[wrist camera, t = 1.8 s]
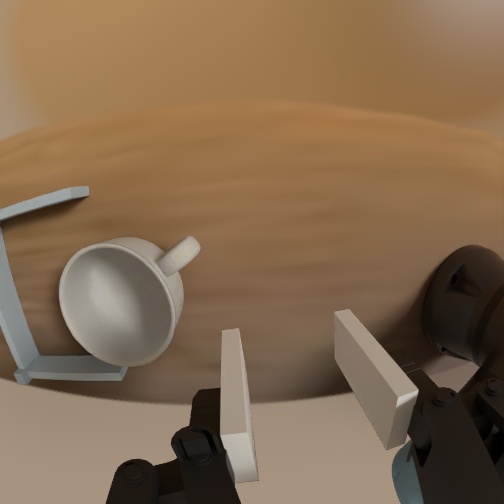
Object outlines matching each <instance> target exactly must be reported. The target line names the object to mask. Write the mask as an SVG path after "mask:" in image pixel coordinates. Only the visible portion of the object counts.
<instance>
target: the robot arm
mask: <svg viewBox="0 0 504 504" xmlns="http://www.w3.org/2000/svg"><path fill="white" fill-rule="evenodd" d="M422 324H423V330H424V334H425V336H426V338H427V340H428V341H429V342H430V343H431V344H432V345H433V346H434V347H435V348H436V349H437V350H438V351H440V352H441V353H443V354H445V355H448V356H452V357H455V358H458V359H462V360H465V361H469V362H473V363H475V364H476V365H477V366H479V367H480V368H479V369H478V371H477V372H476V373H475V374H474V375H473V377H471V379H470V380H469V381H468V382H467V383H466V384H465V386H464V387H463V388H462V389H461V390H460V391H459V392H458V393H456V392H455V391H454V390H452V389H450V388H445V387H442V388H439V387H438V386H437V385H436V384H435V383H434V382H433V381H432V380H431V379H430V378H429V377H428V376H427V374H426V373H425V372H424V371H423V370H422V369H420V367H419V366H418V365H417V364H415V362H414V361H413V360H412V359H411V357H410V356H409V355H407V354H405V353H403V352H401V351H395V352H392V353H387V352H386V351H385V350H384V349H383V347H382V346H381V345H380V344H379V343H378V342H377V340H376V339H375V338H374V337H373V336H372V335H371V334H370V332H369V331H368V330H367V329H366V328H365V327H364V326H363V325H362V323H361V322H360V321H359V320H358V319H357V318H356V317H355V316H354V314H353V313H352V312H351V311H350V310H349V309H347V310H342V311H337V312H334V332H335V360H336V362H337V364H338V366H339V367H340V369H341V371H342V373H343V374H344V376H345V378H346V380H347V381H348V383H349V385H350V387H351V388H352V390H353V392H354V394H355V395H356V397H357V399H358V401H359V403H360V404H361V406H362V408H363V410H364V411H365V413H366V415H367V417H368V418H369V420H370V422H371V424H372V426H373V427H374V429H375V431H376V433H377V435H378V437H379V438H380V440H381V442H382V444H383V446H384V447H385V449H386V450H388V449H391V448H394V447H397V446H399V445H402V444H404V443H405V440H406V437H407V434H408V435H409V436H410V438H411V440H410V441H408V442H407V443H406V444H405V445H404V446H403V447H402V448H401V449H400V450H399V451H398V452H397V453H396V455H395V457H394V459H393V464H392V478H393V482H394V487H395V490H396V493H397V496H398V498H399V501H400V503H401V504H504V260H502V259H501V258H500V257H499V256H498V255H497V254H496V253H495V252H494V251H492V250H490V249H487V248H484V247H482V246H478V245H468V246H465V247H463V248H460V249H459V250H457V251H456V252H454V253H453V254H452V255H451V256H450V257H448V259H447V260H446V261H445V262H444V263H443V264H442V266H441V267H440V268H439V270H438V271H437V273H436V274H435V276H434V278H433V280H432V282H431V284H430V286H429V289H428V292H427V295H426V298H425V302H424V306H423V314H422ZM171 446H172V448H173V450H174V452H175V454H176V456H177V458H176V459H175V460H173V461H170V462H167V463H163V464H159V465H155V466H153V465H152V464H151V463H149V462H148V461H146V460H142V459H132V460H129V461H126V462H124V463H123V464H121V465H120V466H119V467H118V469H117V470H116V472H115V475H114V478H113V481H112V484H111V488H110V491H109V494H108V497H107V501H106V504H241V502H240V499H239V497H238V494H237V492H236V489H235V481H236V483H241V482H251V481H259V479H258V470H257V462H256V453H255V444H254V436H253V427H252V418H251V408H250V399H249V390H248V380H247V373H246V367H245V361H244V356H243V350H242V345H241V339H240V333H239V328H237V329H230V330H222V359H221V388H212V389H202V390H199V391H198V392H197V393H196V395H195V396H194V398H193V401H192V410H191V418H190V424H189V426H187V427H184V428H182V429H180V430H179V431H177V432H176V433H175V435H174V436H173V437H172V440H171Z"/></svg>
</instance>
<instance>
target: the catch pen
mask: <svg viewBox="0 0 504 504" xmlns="http://www.w3.org/2000/svg"><path fill="white" fill-rule="evenodd" d="M86 196H90V195H89V188H88V186H81V187H69V188H66V189H62V190H59V191H55V192H52V193H49V194H45V195H42V196H39V197H36V198H33V199H30V200H27V201H24V202H21V203H18V204H15V205H12V206H9V207H6V208H3V209H0V224H1V221H2V220H5V219H8V218H11V217H14V216H18V215H21V214H24V213H27V212H31V211H34V210H37V209H41V208H44V207H48V206H51V205H55V204H59V203H62V202H66V201H70V200H74V199H78V198H82V197H86ZM0 325H1V328H2V331H3V333H4V336H5V338H6V341H7V343H8V346H9V348H10V350H11V353H12V355H13V357H14V359H15V361H16V364H17V366H18V369H17V370H16V371H15V372H14V373H13V374H14V376H15V378H16V380H17V382H18V384H22V385H27V384H28V383H29V382H30V381H31V379H32V378H38V379H54V380H82V381H121V380H123V378H124V376H125V374H126V371H127V369H128V367H122V366H116V365H112V364H109V363H106V362H104V361H102V360H100V359H98V358H96V357H95V356H94V355H86V356H41V355H40V354H39V352H38V350H37V348H36V345H35V343H34V340H33V338H32V335H31V333H30V330H29V327H28V325H27V322H26V319H25V316H24V313H23V310H22V307H21V304H20V301H19V298H18V295H17V292H16V288H15V285H14V281H13V278H12V274H11V270H10V267H9V263H8V258H7V254H6V250H5V245H4V241H3V236H2V230H1V225H0Z"/></svg>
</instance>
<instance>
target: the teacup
mask: <svg viewBox="0 0 504 504" xmlns="http://www.w3.org/2000/svg"><path fill="white" fill-rule="evenodd" d="M199 252H200V245H199V243H198V242H197V241H196V240H195V239H194V238H193V237H192V236H187V237H185V238H184V239H182V240H181V241H180V242H179V243H177V244H176V245H174V246H173V247H172V248H171V249H169V250H168V251H166V252H164V251H163V250H161V249H160V248H159V247H157V246H156V245H154V244H152V243H150V242H148V241H146V240H143V239H139V238H134V237H122V238H116V239H112V240H108V241H105V242H102V243H97V244H93V245H90V246H88V247H85V248H83V249H82V250H80V251H79V252H77V253H76V254H75V255H73V256H72V258H71V259H70V260H69V261H68V263H67V264H66V266H65V268H64V270H63V272H62V276H61V279H60V284H59V302H60V307H61V311H62V314H63V317H64V319H65V322H66V324H67V326H68V328H69V330H70V331H71V333H72V335H73V337H74V338H75V340H77V341H78V342H79V343H80V345H81V346H82V347H83V348H85V349H86V350H87V351H88V352H89V353H91V354H92V355H94V356H95V357H96V358H98V359H100V360H102V361H104V362H106V363H109V364H112V365H116V366H122V367H136V366H142V365H145V364H147V363H150V362H152V361H154V360H156V359H157V358H158V357H159V356H160V355H161V354H162V353H163V352H164V351H165V350H166V349H167V347H168V346H169V344H170V342H171V341H172V338H173V334H174V331H175V328H176V325H177V323H178V320H179V318H180V315H181V311H182V307H183V300H184V292H183V285H182V280H181V277H180V274H179V272H178V270H179V269H181V268H182V267H184V266H185V265H186V264H187V263H189V262H190V261H191V260H192V259H193V258H194V257H195V256H196V255H197V254H198V253H199Z"/></svg>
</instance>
